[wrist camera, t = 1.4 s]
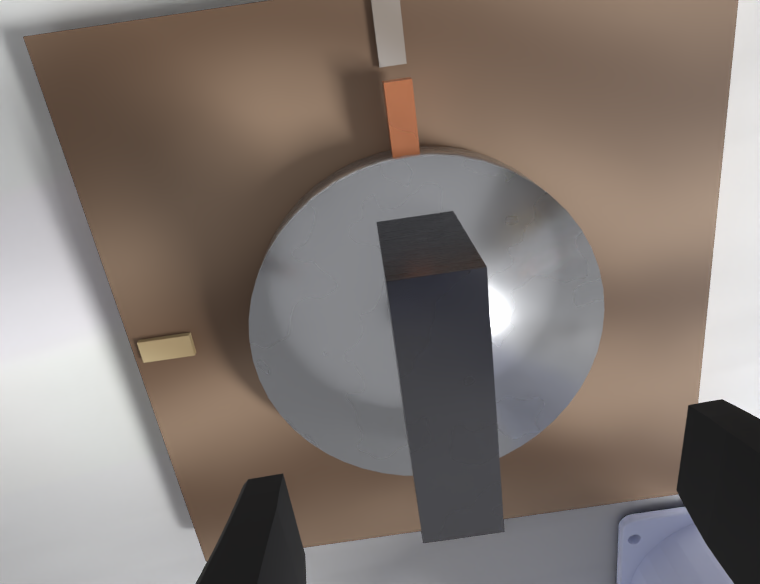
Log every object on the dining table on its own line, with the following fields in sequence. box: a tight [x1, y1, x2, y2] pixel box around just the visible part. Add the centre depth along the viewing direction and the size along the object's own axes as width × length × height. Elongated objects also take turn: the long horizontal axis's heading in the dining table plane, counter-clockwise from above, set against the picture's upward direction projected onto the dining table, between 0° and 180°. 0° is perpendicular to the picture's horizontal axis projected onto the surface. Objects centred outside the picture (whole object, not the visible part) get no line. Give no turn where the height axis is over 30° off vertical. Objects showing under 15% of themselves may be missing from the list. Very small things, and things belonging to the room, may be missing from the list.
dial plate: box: [23, 0, 738, 562], centre depth 19 cm, size 18×18×2 cm
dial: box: [249, 77, 604, 543], centre depth 15 cm, size 12×10×6 cm
